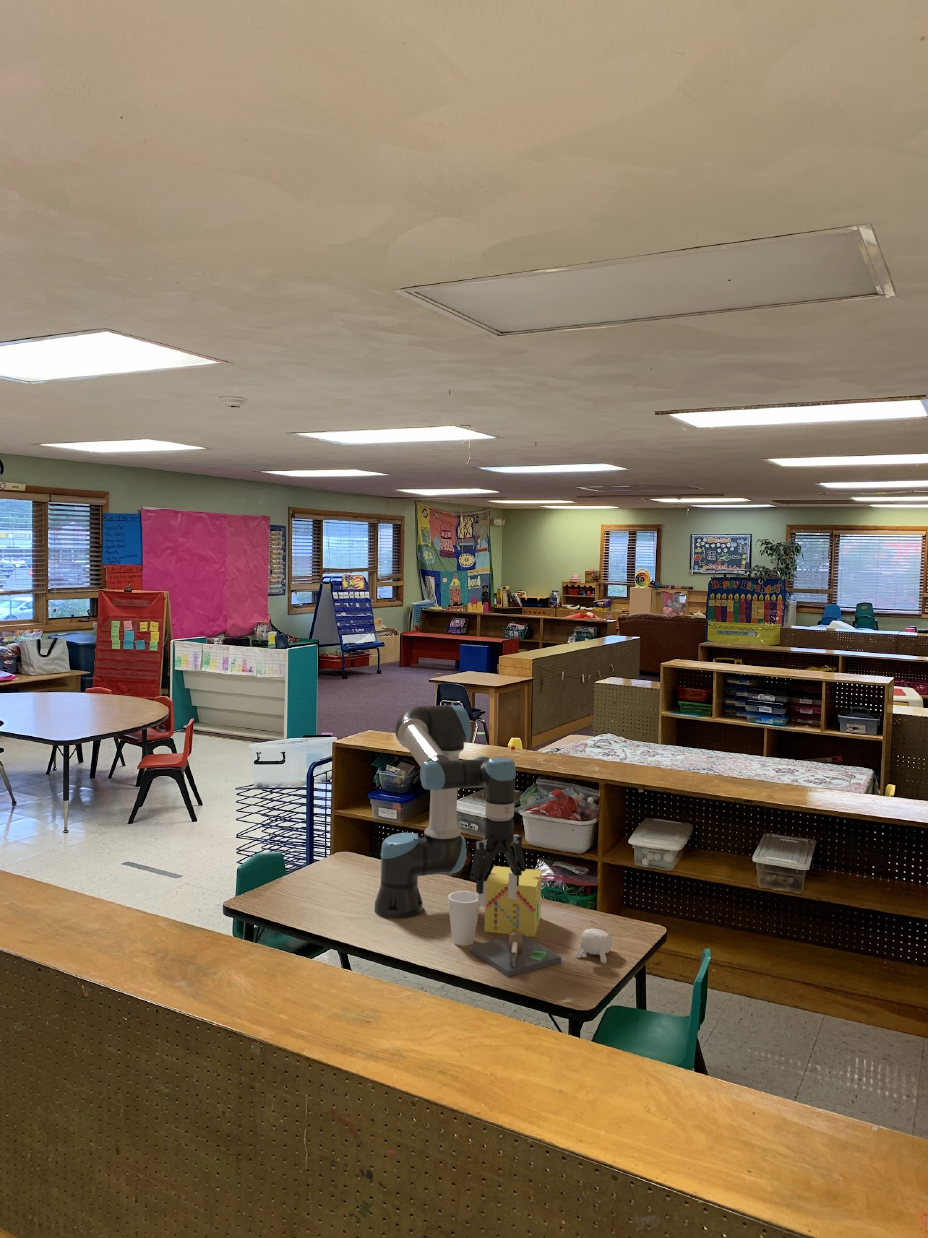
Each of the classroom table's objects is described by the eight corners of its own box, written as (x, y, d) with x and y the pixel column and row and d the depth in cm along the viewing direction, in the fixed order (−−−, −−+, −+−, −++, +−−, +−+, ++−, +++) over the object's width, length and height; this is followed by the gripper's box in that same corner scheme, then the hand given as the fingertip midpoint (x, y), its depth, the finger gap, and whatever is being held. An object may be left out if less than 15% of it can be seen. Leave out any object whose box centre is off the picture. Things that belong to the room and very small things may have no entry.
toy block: (534, 937, 253) (536, 886, 252) (484, 931, 256) (485, 882, 255) (540, 918, 268) (541, 870, 267) (492, 913, 271) (494, 866, 270)
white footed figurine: (583, 958, 247) (569, 957, 234) (587, 927, 249) (573, 925, 236) (612, 964, 243) (600, 963, 230) (616, 932, 246) (604, 930, 233)
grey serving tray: (470, 951, 242) (470, 945, 241) (522, 938, 251) (522, 933, 251) (507, 977, 226) (508, 970, 226) (561, 962, 236) (561, 956, 236)
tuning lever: (509, 947, 241) (510, 930, 241) (522, 948, 240) (522, 931, 240) (506, 966, 229) (506, 948, 228) (519, 967, 228) (520, 949, 228)
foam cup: (459, 950, 242) (460, 905, 241) (440, 939, 249) (441, 895, 249) (485, 943, 248) (487, 898, 247) (466, 932, 255) (468, 889, 254)
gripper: (473, 826, 217) (470, 914, 218) (541, 815, 229) (538, 899, 230) (457, 819, 224) (454, 904, 224) (524, 809, 235) (521, 890, 236)
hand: (497, 901), depth 227 cm, fingers open, 9 cm apart
